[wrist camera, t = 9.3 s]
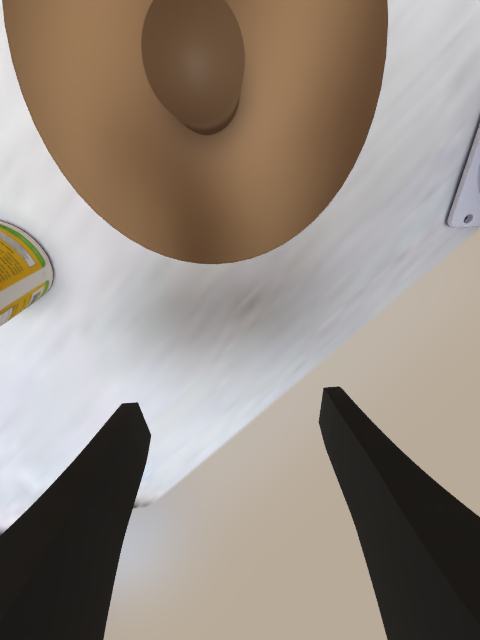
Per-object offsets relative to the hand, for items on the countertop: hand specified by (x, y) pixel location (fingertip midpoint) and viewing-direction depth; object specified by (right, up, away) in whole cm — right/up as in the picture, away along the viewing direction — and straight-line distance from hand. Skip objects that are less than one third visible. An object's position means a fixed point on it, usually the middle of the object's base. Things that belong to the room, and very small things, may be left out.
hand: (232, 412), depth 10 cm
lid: (-1, +12, -1) cm, 12 cm away
